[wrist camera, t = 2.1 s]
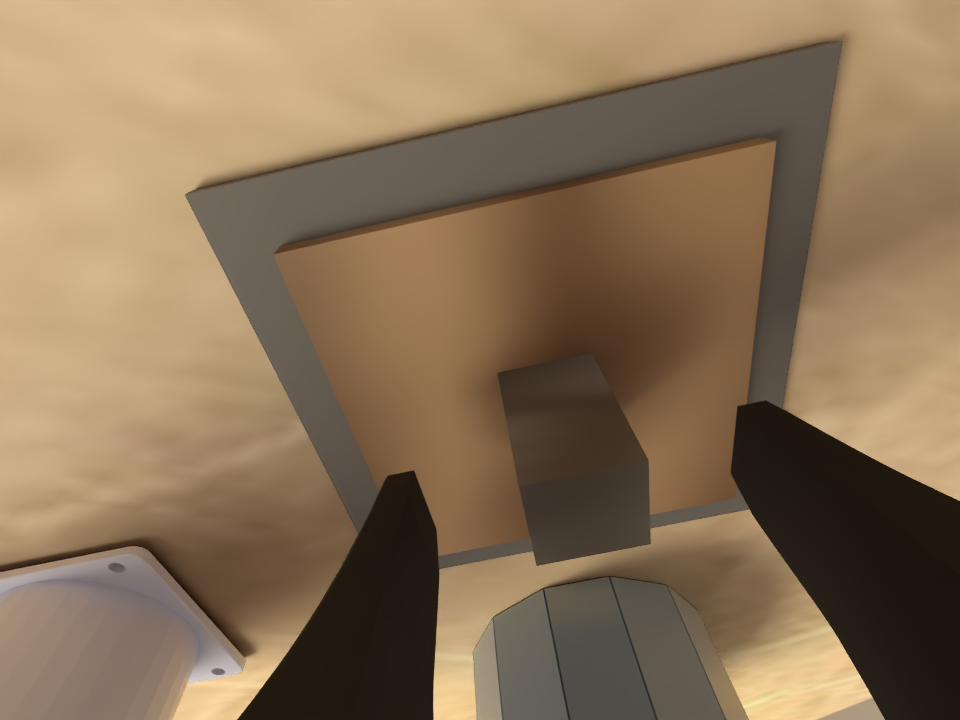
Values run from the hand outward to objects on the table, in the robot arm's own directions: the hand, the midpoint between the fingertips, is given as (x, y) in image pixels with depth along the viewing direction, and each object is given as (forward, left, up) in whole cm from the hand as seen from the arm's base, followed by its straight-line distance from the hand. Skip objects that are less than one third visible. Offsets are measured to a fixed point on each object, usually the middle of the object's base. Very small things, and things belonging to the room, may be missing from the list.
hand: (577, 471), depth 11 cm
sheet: (0, 0, -3) cm, 3 cm away
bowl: (0, -15, -4) cm, 15 cm away
